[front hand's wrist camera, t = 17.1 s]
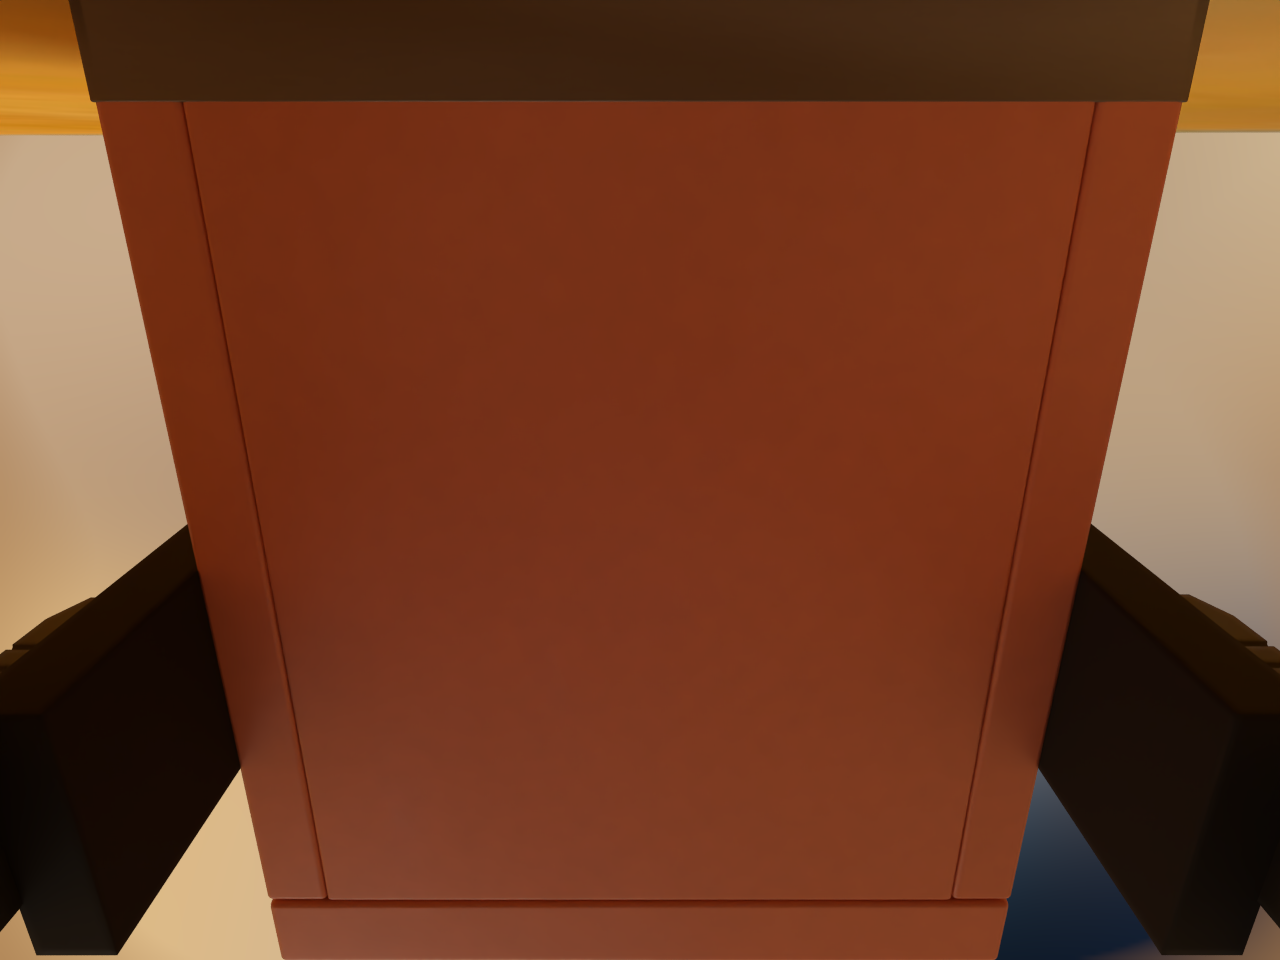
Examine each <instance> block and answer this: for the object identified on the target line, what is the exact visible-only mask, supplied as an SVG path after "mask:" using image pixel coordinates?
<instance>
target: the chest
mask: <svg viewBox="0 0 1280 960" xmlns="http://www.w3.org/2000/svg"><path fill="white" fill-rule="evenodd" d="M1209 1H1210V0H69V4H70V9H71V13H72V18H73V22H74V27H75V31H76V36H77V41H78V45H79V50H80V54H81V59H82V63H83V68H84V73H85V77H86V82H87V86H88V91H89V95H90V100H91V101H92V102H96V105H97V109H98V114H99V118H100V123H101V128H102V132H103V137H104V141H105V146H106V151H107V155H108V160H109V164H110V169H111V173H112V178H113V183H114V187H115V192H116V197H117V201H118V206H119V210H120V215H121V219H122V224H123V229H124V233H125V238H126V243H127V247H128V251H129V256H130V261H131V266H132V270H133V275H134V279H135V284H136V289H137V293H138V298H139V302H140V307H141V312H142V316H143V321H144V325H145V330H146V335H147V339H148V344H149V349H150V353H151V358H152V362H153V367H154V372H155V376H156V381H157V385H158V390H159V394H160V399H161V404H162V408H163V413H164V418H165V422H166V427H167V431H168V436H169V441H170V445H171V450H172V454H173V459H174V464H175V468H176V473H177V477H178V482H179V487H180V491H181V496H182V500H183V505H184V510H185V514H186V519H187V523H188V528H189V533H190V537H191V542H192V546H193V551H194V556H195V560H196V565H197V569H198V573H199V578H200V582H201V587H202V592H203V596H204V601H205V606H206V610H207V615H208V619H209V624H210V629H211V633H212V638H213V642H214V647H215V652H216V656H217V661H218V665H219V670H220V675H221V679H222V684H223V688H224V693H225V698H226V702H227V707H228V711H229V716H230V721H231V725H232V730H233V734H234V739H235V744H236V748H237V753H238V758H239V762H240V767H241V772H242V777H243V781H244V786H245V790H246V795H247V800H248V804H249V809H250V813H251V818H252V823H253V827H254V832H255V837H256V841H257V846H258V850H259V855H260V859H261V864H262V869H263V873H264V878H265V882H266V887H267V892H268V896H269V897H270V898H272V899H323V898H325V897H326V896H327V895H328V898H329V899H331V900H878V899H950V898H951V895H952V896H953V897H954V898H957V899H1006V898H1008V897H1009V896H1010V895H1011V890H1012V886H1013V881H1014V876H1015V872H1016V867H1017V863H1018V858H1019V853H1020V849H1021V844H1022V840H1023V835H1024V830H1025V826H1026V821H1027V816H1028V812H1029V807H1030V803H1031V798H1032V793H1033V789H1034V784H1035V780H1036V775H1037V770H1038V766H1039V761H1040V756H1041V752H1042V747H1043V743H1044V738H1045V733H1046V729H1047V724H1048V719H1049V715H1050V710H1051V706H1052V701H1053V696H1054V692H1055V687H1056V683H1057V678H1058V673H1059V669H1060V664H1061V659H1062V655H1063V650H1064V646H1065V641H1066V636H1067V632H1068V627H1069V622H1070V618H1071V613H1072V609H1073V604H1074V599H1075V595H1076V590H1077V585H1078V581H1079V576H1080V572H1081V567H1082V562H1083V558H1084V553H1085V549H1086V544H1087V539H1088V535H1089V530H1090V525H1091V521H1092V516H1093V511H1094V507H1095V502H1096V497H1097V493H1098V488H1099V484H1100V479H1101V475H1102V470H1103V465H1104V461H1105V456H1106V451H1107V447H1108V442H1109V437H1110V433H1111V428H1112V424H1113V419H1114V414H1115V410H1116V405H1117V401H1118V396H1119V391H1120V387H1121V382H1122V378H1123V373H1124V368H1125V364H1126V359H1127V354H1128V350H1129V345H1130V341H1131V336H1132V331H1133V327H1134V322H1135V317H1136V313H1137V308H1138V304H1139V299H1140V294H1141V290H1142V285H1143V281H1144V276H1145V271H1146V266H1147V262H1148V257H1149V253H1150V248H1151V244H1152V239H1153V234H1154V230H1155V225H1156V220H1157V216H1158V211H1159V207H1160V202H1161V197H1162V193H1163V188H1164V183H1165V179H1166V174H1167V169H1168V165H1169V160H1170V156H1171V151H1172V146H1173V142H1174V137H1175V133H1176V128H1177V123H1178V119H1179V114H1180V110H1181V105H1182V102H1187V101H1188V97H1189V92H1190V88H1191V83H1192V78H1193V74H1194V69H1195V65H1196V60H1197V56H1198V51H1199V46H1200V42H1201V37H1202V33H1203V28H1204V24H1205V19H1206V14H1207V10H1208V5H1209Z"/></svg>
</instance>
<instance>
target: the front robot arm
mask: <svg viewBox="0 0 1280 960" xmlns="http://www.w3.org/2000/svg"><path fill="white" fill-rule="evenodd" d="M240 768H241V767H240V762H239V758H238V753H237V748H236V744H235V739H234V734H233V730H232V725H231V721H230V716H229V711H228V707H227V702H226V698H225V693H224V688H223V684H222V679H221V675H220V670H219V665H218V661H217V656H216V652H215V647H214V642H213V638H212V633H211V629H210V624H209V619H208V615H207V610H206V606H205V601H204V596H203V592H202V587H201V582H200V578H199V573H198V569H197V565H196V560H195V556H194V551H193V546H192V542H191V537H190V533H189V528H188V524H187V525H186V526H185V527H183V528H182V529H181V530H180V531H178V532H177V533H176V534H175V535H173V536H172V537H171V538H170V539H168V540H167V541H166V542H164V543H163V544H162V545H161V546H159V547H158V548H157V549H156V550H154V551H153V552H152V553H151V554H149V555H148V556H147V557H146V558H144V559H143V560H142V561H141V562H139V563H138V564H137V565H136V566H134V567H133V568H132V569H131V570H129V571H128V572H127V573H126V574H124V575H123V576H122V577H121V578H119V579H118V580H117V581H116V582H114V583H113V584H112V585H111V586H109V587H108V588H107V589H106V590H104V591H103V592H102V593H100V594H99V595H98V596H97V597H95V598H89V599H87V600H85V601H83V602H80V603H78V604H76V605H74V606H72V607H70V608H68V609H66V610H64V611H62V612H60V613H58V614H56V615H53V616H51V617H49V618H47V619H46V620H44V621H43V622H42V623H40V624H39V625H38V626H36V627H35V628H34V629H32V630H31V631H30V632H28V633H27V634H26V635H25V636H23V637H22V638H21V639H19V640H18V641H17V642H15V643H14V644H13V648H12V650H5V651H4V652H2V653H1V654H0V931H1V930H2V929H3V928H4V927H5V926H6V924H7V923H8V922H9V921H10V920H11V918H12V917H13V916H14V915H15V914H16V912H17V911H18V910H19V909H20V911H21V914H22V917H23V920H24V922H25V925H26V928H27V931H28V933H29V936H30V939H31V941H32V944H33V947H34V950H35V952H36V955H118V953H119V952H120V950H121V949H122V947H123V946H124V944H125V942H126V941H127V939H128V938H129V936H130V935H131V933H132V932H133V930H134V929H135V927H136V926H137V924H138V923H139V921H140V920H141V918H142V917H143V915H144V914H145V912H146V911H147V909H148V908H149V906H150V905H151V903H152V902H153V900H154V898H155V897H156V896H157V894H158V893H159V891H160V889H161V888H162V886H163V885H164V883H165V882H166V880H167V879H168V877H169V876H170V874H171V873H172V871H173V870H174V868H175V867H176V865H177V864H178V862H179V861H180V859H181V858H182V856H183V854H184V853H185V852H186V850H187V849H188V847H189V845H190V844H191V843H192V841H193V839H194V838H195V836H196V835H197V833H198V832H199V830H200V829H201V827H202V826H203V824H204V823H205V821H206V820H207V818H208V817H209V815H210V814H211V812H212V811H213V809H214V808H215V806H216V805H217V803H218V802H219V800H220V799H221V797H222V795H223V794H224V792H225V791H226V789H227V788H228V786H229V785H230V783H231V782H232V780H233V779H234V777H235V776H236V774H237V773H238V771H239V770H240ZM1038 768H1039V770H1040V771H1041V773H1042V774H1043V776H1044V777H1045V779H1046V780H1047V782H1048V783H1049V785H1050V786H1051V788H1052V789H1053V791H1054V792H1055V794H1056V795H1057V797H1058V798H1059V800H1060V801H1061V803H1062V805H1063V806H1064V807H1065V809H1066V811H1067V812H1068V814H1069V815H1070V817H1071V818H1072V820H1073V821H1074V823H1075V824H1076V826H1077V827H1078V829H1079V830H1080V832H1081V833H1082V835H1083V836H1084V838H1085V839H1086V841H1087V842H1088V844H1089V845H1090V847H1091V848H1092V850H1093V852H1094V853H1095V855H1096V856H1097V858H1098V859H1099V861H1100V862H1101V864H1102V865H1103V867H1104V868H1105V870H1106V871H1107V873H1108V874H1109V876H1110V877H1111V879H1112V880H1113V882H1114V883H1115V885H1116V886H1117V888H1118V889H1119V891H1120V892H1121V894H1122V895H1123V897H1124V899H1125V900H1126V902H1127V903H1128V905H1129V906H1130V908H1131V909H1132V911H1133V912H1134V914H1135V915H1136V917H1137V918H1138V920H1139V921H1140V923H1141V924H1142V926H1143V927H1144V929H1145V930H1146V932H1147V933H1148V935H1149V936H1150V938H1151V939H1152V941H1153V942H1154V944H1155V946H1156V947H1157V949H1158V950H1159V952H1160V953H1161V955H1242V954H1243V952H1244V949H1245V946H1246V944H1247V941H1248V938H1249V935H1250V933H1251V930H1252V927H1253V924H1254V922H1255V919H1256V916H1257V913H1258V911H1259V908H1260V905H1261V906H1262V908H1263V909H1264V910H1265V911H1266V912H1267V914H1268V915H1269V916H1270V917H1271V918H1272V920H1273V921H1274V922H1275V923H1276V924H1277V925H1278V927H1279V928H1280V651H1279V650H1278V649H1277V648H1275V647H1274V646H1268V645H1267V641H1266V640H1265V639H1263V638H1262V637H1261V636H1260V635H1258V634H1257V633H1256V632H1254V631H1253V630H1252V629H1250V628H1249V627H1248V626H1246V625H1245V624H1244V623H1242V622H1241V621H1240V620H1239V619H1237V618H1236V617H1234V616H1233V615H1231V614H1229V613H1227V612H1225V611H1222V610H1220V609H1218V608H1216V607H1214V606H1212V605H1210V604H1208V603H1206V602H1204V601H1201V600H1199V599H1197V598H1195V597H1193V596H1191V595H1180V594H1178V593H1177V592H1176V591H1175V590H1173V589H1172V588H1171V587H1170V586H1168V585H1167V584H1166V583H1165V582H1163V581H1162V580H1161V579H1160V578H1158V577H1157V576H1156V575H1155V574H1153V573H1152V572H1151V571H1150V570H1148V569H1147V568H1146V567H1145V566H1143V565H1142V564H1141V563H1140V562H1138V561H1137V560H1136V559H1135V558H1133V557H1132V556H1131V555H1130V554H1128V553H1127V552H1126V551H1124V550H1123V549H1122V548H1121V547H1119V546H1118V545H1117V544H1116V543H1114V542H1113V541H1112V540H1111V539H1109V538H1108V537H1107V536H1106V535H1104V534H1103V533H1102V532H1101V531H1099V530H1098V529H1097V528H1096V527H1094V526H1093V525H1092V524H1091V525H1090V530H1089V535H1088V539H1087V544H1086V549H1085V553H1084V558H1083V562H1082V567H1081V572H1080V576H1079V581H1078V585H1077V590H1076V595H1075V599H1074V604H1073V609H1072V613H1071V618H1070V622H1069V627H1068V632H1067V636H1066V641H1065V646H1064V650H1063V655H1062V659H1061V664H1060V669H1059V673H1058V678H1057V683H1056V687H1055V692H1054V696H1053V701H1052V706H1051V710H1050V715H1049V719H1048V724H1047V729H1046V733H1045V738H1044V743H1043V747H1042V752H1041V756H1040V761H1039V766H1038Z"/></svg>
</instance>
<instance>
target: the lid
mask: <svg viewBox="0 0 1280 960" xmlns="http://www.w3.org/2000/svg"><path fill="white" fill-rule="evenodd" d="M1007 909H1008V903H1007V900H1006V899H957V898H954V897H953V896H952V895H951V898H950V899H878V900H331V899H329V898H328V895H327V896H326V897H325V898H323V899H273V900H272V902H271V910H272V914H273V919H274V923H275V928H276V933H277V937H278V942H279V946H280V951H281V955H282V958H283V959H285V960H994V959H996V958H997V955H998V950H999V946H1000V941H1001V937H1002V932H1003V927H1004V923H1005V918H1006V914H1007Z"/></svg>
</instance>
